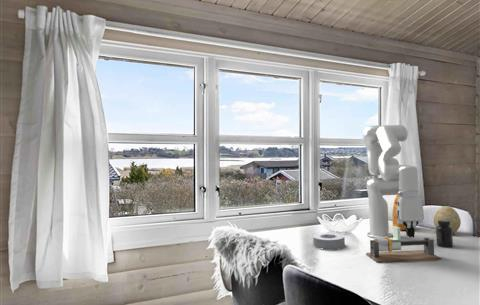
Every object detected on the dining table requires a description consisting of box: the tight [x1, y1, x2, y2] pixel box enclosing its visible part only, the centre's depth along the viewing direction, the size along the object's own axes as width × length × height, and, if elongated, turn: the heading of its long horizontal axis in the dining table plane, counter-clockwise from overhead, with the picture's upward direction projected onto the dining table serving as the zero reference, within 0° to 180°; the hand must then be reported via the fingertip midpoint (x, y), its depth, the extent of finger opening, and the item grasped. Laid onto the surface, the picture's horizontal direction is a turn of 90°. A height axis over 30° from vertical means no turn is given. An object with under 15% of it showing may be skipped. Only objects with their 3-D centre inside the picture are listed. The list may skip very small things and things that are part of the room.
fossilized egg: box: [433, 205, 462, 234], centre depth 198 cm, size 13×13×15 cm
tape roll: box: [312, 232, 346, 250], centre depth 182 cm, size 15×15×5 cm
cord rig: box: [365, 237, 442, 264], centre depth 158 cm, size 12×27×9 cm, turn 92°
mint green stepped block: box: [390, 225, 402, 251], centre depth 158 cm, size 4×4×9 cm
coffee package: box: [392, 195, 410, 232], centre depth 214 cm, size 10×12×22 cm
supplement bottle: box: [435, 220, 454, 248], centre depth 174 cm, size 7×7×12 cm
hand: (410, 236), depth 158 cm, fingers closed
